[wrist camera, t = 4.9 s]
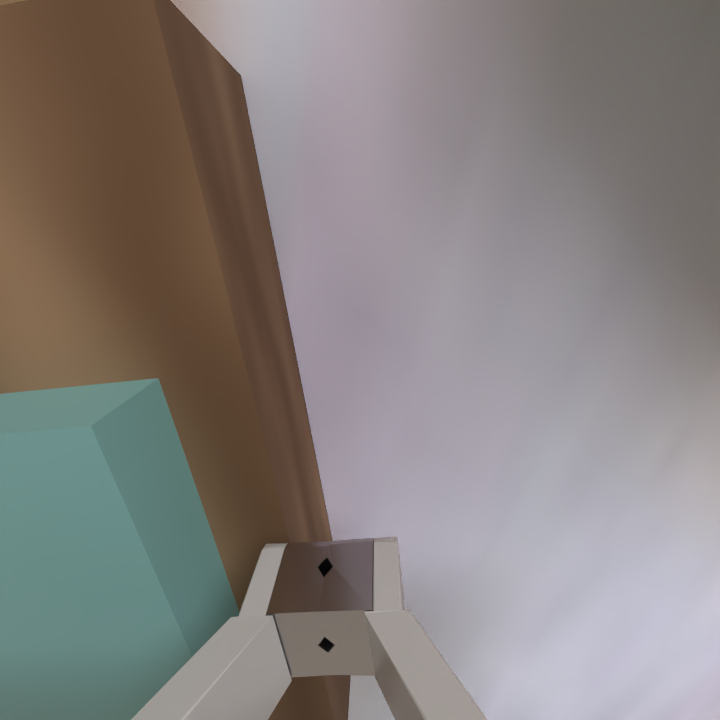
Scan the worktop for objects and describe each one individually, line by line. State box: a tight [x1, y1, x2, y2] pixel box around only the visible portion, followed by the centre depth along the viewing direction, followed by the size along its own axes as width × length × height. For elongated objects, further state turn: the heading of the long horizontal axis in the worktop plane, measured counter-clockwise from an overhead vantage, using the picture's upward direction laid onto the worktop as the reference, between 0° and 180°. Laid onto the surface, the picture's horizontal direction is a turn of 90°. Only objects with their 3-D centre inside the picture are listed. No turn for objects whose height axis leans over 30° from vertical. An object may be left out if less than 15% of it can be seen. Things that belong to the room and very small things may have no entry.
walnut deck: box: [0, 0, 350, 720], centre depth 12 cm, size 14×22×4 cm, turn 7°
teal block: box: [0, 378, 239, 720], centre depth 9 cm, size 6×9×2 cm, turn 7°
